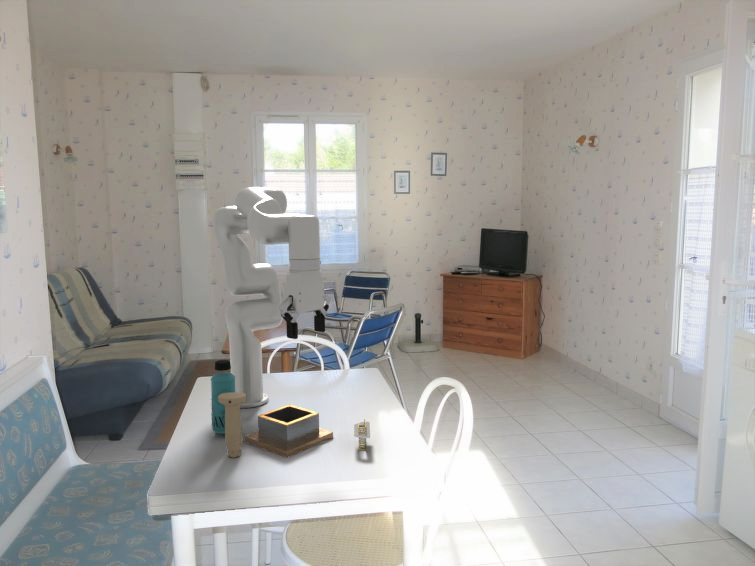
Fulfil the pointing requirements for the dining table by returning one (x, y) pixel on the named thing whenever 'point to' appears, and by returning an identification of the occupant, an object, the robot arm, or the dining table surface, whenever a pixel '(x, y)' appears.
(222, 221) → the robot arm
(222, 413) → the beverage bottle
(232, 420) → the handle
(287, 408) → the sleeve
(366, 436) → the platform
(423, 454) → the dining table surface
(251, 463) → the dining table surface
